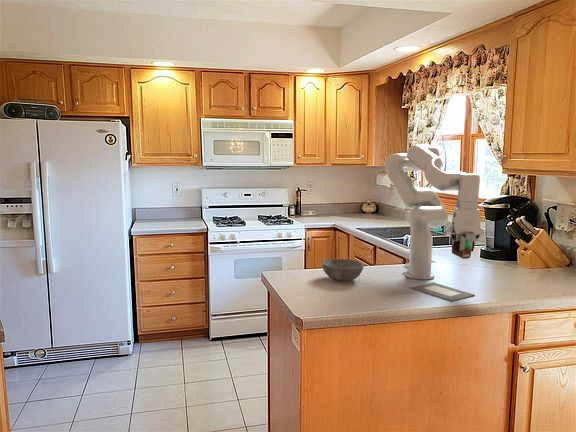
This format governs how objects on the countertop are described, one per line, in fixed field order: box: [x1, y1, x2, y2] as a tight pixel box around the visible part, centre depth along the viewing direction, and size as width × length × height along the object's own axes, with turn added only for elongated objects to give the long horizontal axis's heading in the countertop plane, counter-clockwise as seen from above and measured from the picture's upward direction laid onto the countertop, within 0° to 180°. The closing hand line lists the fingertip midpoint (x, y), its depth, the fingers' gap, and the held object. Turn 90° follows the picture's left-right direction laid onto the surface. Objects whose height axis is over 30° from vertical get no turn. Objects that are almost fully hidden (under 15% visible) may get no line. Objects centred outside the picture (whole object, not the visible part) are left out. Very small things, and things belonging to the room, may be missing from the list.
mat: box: [410, 282, 475, 303], centre depth 185 cm, size 20×14×1 cm
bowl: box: [322, 258, 365, 282], centre depth 200 cm, size 18×18×8 cm
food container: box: [451, 232, 475, 260], centre depth 183 cm, size 12×6×10 cm, turn 7°
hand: (463, 250), depth 183 cm, fingers closed on food container, 5 cm apart
